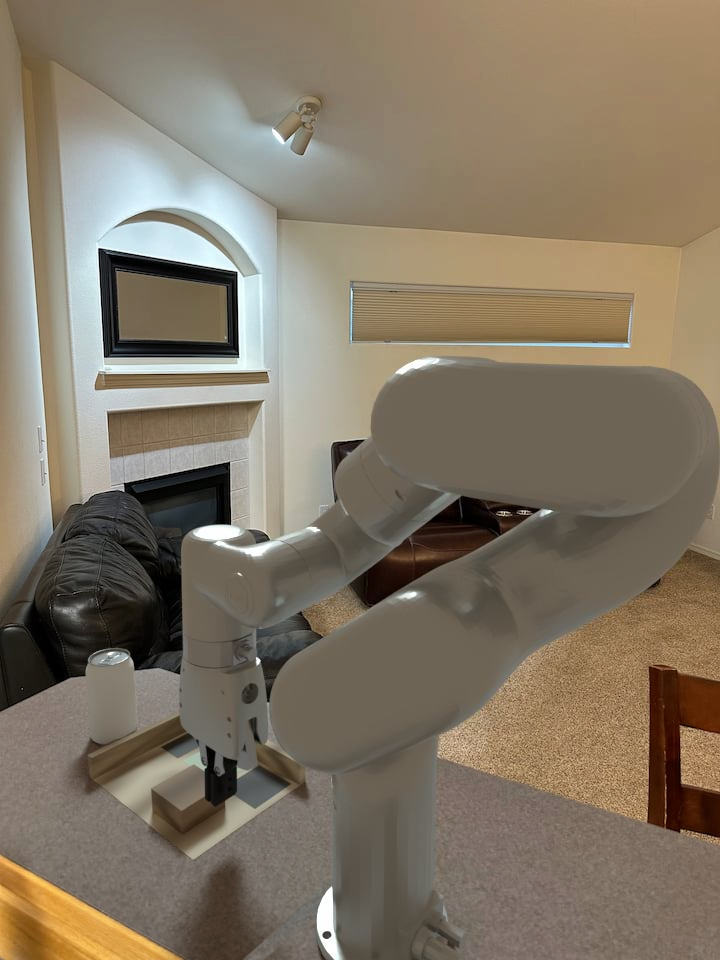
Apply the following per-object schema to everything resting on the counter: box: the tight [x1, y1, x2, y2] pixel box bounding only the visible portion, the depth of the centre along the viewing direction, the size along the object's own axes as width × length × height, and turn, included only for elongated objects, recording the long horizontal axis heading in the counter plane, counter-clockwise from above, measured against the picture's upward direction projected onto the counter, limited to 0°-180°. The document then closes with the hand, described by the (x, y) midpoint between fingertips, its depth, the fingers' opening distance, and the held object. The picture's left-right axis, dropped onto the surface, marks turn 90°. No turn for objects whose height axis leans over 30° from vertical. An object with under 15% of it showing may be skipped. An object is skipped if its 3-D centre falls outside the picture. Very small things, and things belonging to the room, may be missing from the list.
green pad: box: [182, 752, 242, 773], centre depth 85 cm, size 8×6×1 cm
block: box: [151, 764, 225, 835], centre depth 76 cm, size 6×6×3 cm
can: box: [85, 647, 139, 746], centre depth 92 cm, size 6×6×12 cm
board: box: [86, 710, 306, 861], centre depth 81 cm, size 22×17×4 cm
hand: (221, 796), depth 71 cm, fingers closed
